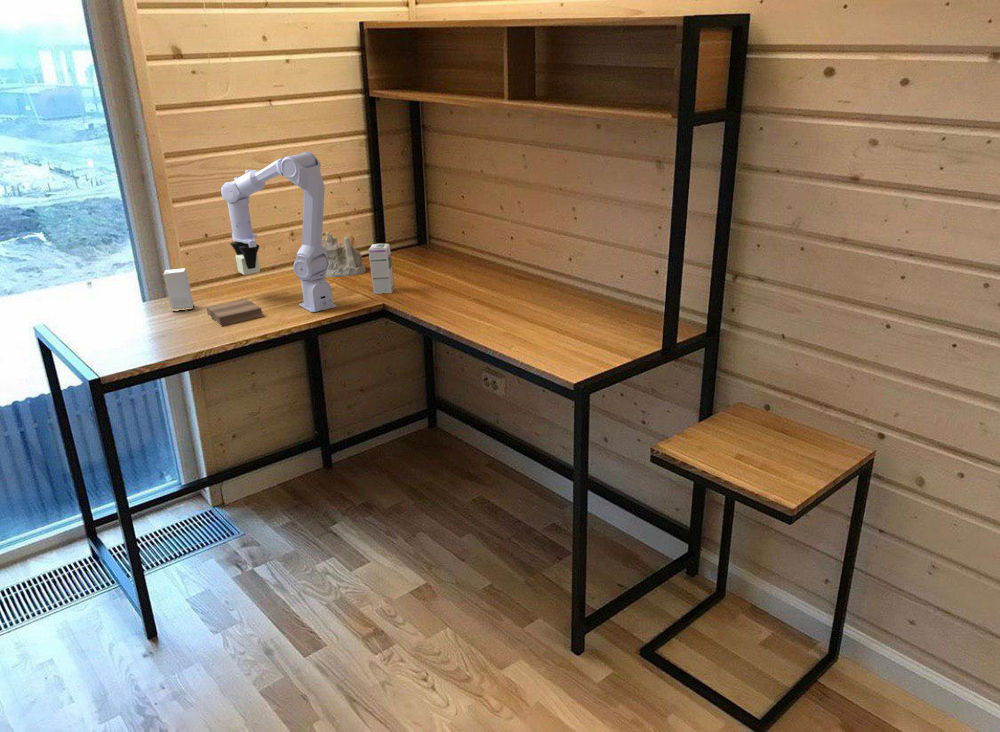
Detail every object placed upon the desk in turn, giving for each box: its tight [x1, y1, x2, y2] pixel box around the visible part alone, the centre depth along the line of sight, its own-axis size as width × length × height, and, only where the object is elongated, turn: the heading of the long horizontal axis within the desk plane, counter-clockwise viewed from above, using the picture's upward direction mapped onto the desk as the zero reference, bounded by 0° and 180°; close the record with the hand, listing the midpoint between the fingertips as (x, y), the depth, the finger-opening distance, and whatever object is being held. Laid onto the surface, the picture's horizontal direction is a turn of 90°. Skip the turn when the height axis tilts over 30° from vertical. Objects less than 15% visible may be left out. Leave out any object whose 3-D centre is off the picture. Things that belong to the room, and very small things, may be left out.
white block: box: [234, 254, 261, 276], centre depth 241 cm, size 5×5×5 cm
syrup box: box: [368, 242, 395, 295], centre depth 245 cm, size 6×6×14 cm
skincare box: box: [162, 267, 195, 310], centre depth 236 cm, size 6×4×12 cm
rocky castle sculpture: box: [322, 231, 367, 278], centre depth 269 cm, size 16×16×15 cm
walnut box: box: [206, 298, 263, 326], centre depth 231 cm, size 12×12×3 cm
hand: (248, 266), depth 241 cm, fingers closed on white block, 5 cm apart
